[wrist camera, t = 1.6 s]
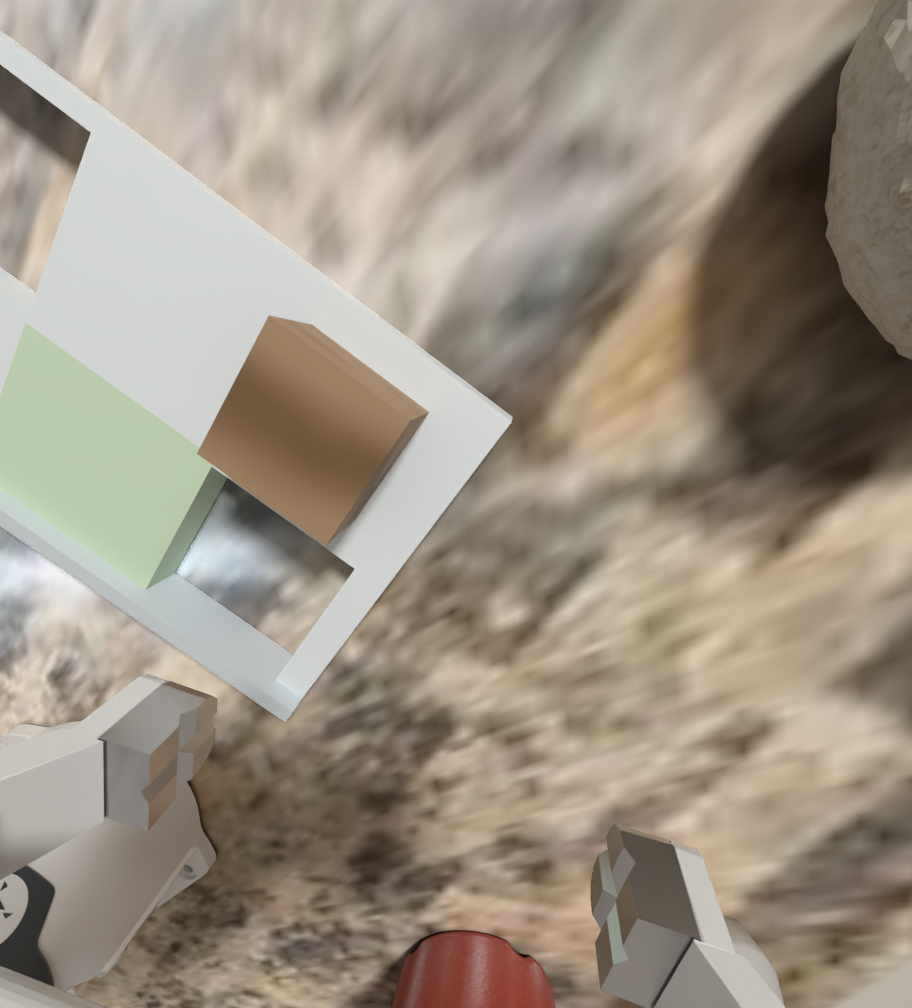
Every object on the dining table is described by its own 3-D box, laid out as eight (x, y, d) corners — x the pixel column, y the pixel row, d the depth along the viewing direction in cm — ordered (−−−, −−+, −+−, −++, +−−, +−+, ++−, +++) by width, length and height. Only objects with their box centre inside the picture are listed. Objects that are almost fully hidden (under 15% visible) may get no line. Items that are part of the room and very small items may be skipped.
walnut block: (355, 519, 25) (325, 546, 21) (247, 440, 25) (196, 453, 21) (429, 412, 23) (410, 420, 19) (311, 324, 22) (269, 315, 19)
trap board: (311, 682, 31) (285, 722, 28) (-128, 376, 30) (-216, 377, 26) (512, 417, 25) (510, 424, 21) (-38, 1, 23) (-139, -65, 19)
